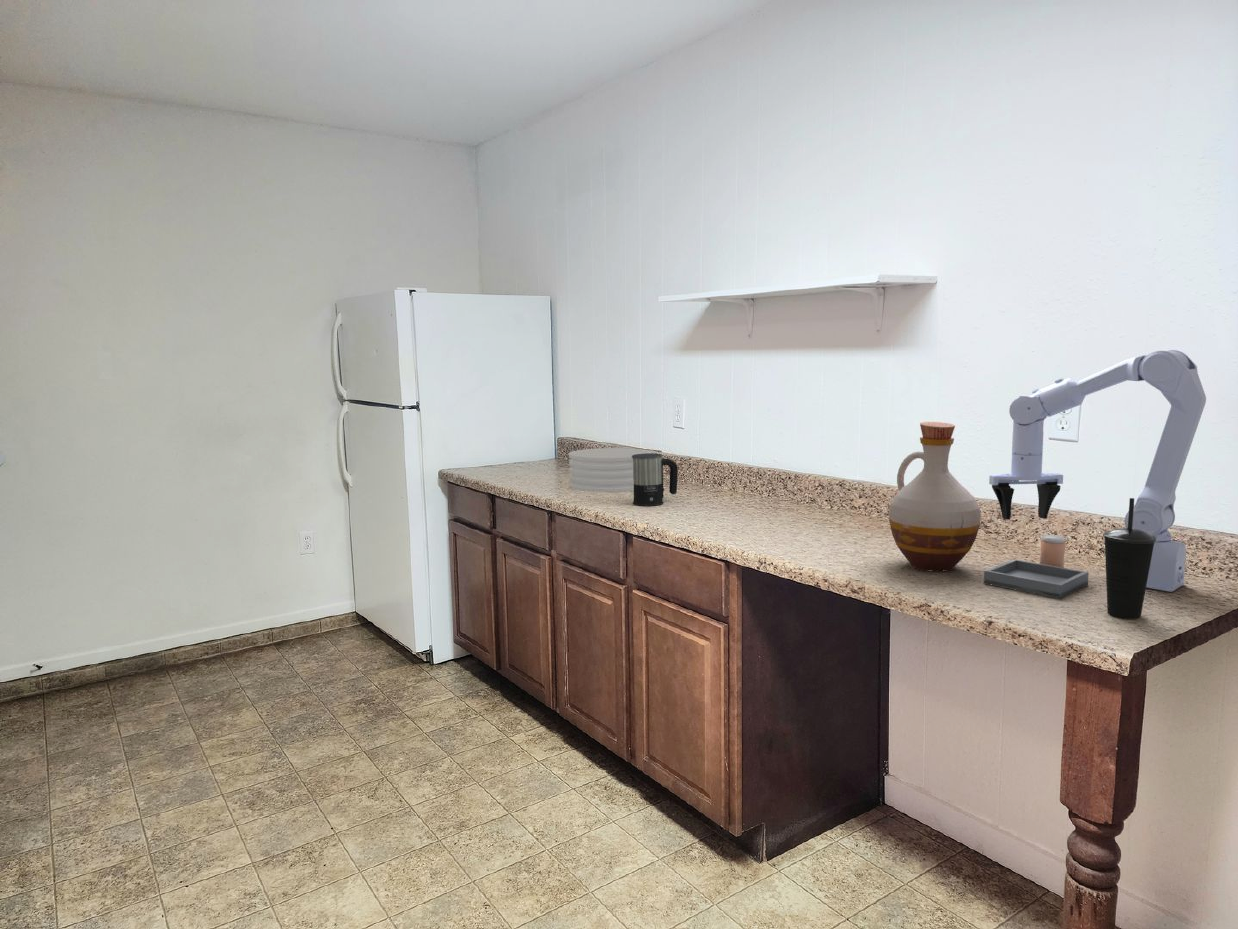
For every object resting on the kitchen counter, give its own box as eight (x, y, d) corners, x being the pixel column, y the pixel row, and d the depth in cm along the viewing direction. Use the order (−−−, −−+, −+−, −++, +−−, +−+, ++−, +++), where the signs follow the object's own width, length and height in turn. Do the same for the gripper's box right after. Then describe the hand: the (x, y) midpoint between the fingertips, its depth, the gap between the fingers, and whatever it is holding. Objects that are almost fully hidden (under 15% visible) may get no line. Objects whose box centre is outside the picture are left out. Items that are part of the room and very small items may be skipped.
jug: (863, 560, 180) (867, 421, 176) (926, 551, 187) (931, 417, 183) (931, 582, 162) (937, 428, 158) (998, 571, 169) (1005, 424, 165)
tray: (1087, 584, 159) (1088, 572, 159) (1060, 598, 151) (1060, 585, 150) (1013, 571, 169) (1014, 559, 169) (983, 583, 161) (984, 570, 161)
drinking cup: (1102, 619, 139) (1110, 501, 136) (1094, 606, 146) (1101, 493, 143) (1155, 624, 136) (1164, 503, 133) (1145, 610, 143) (1153, 495, 141)
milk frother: (642, 507, 244) (641, 457, 242) (616, 499, 258) (615, 452, 256) (682, 503, 251) (682, 454, 249) (655, 495, 265) (654, 449, 263)
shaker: (1067, 570, 169) (1069, 536, 169) (1058, 574, 167) (1060, 540, 166) (1044, 566, 173) (1046, 533, 172) (1035, 570, 170) (1037, 536, 169)
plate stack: (654, 491, 273) (654, 456, 271) (568, 493, 271) (568, 458, 270) (648, 478, 300) (647, 447, 299) (570, 480, 299) (569, 448, 298)
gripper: (1051, 450, 177) (1048, 514, 178) (983, 452, 177) (981, 515, 178) (1070, 454, 170) (1066, 520, 171) (999, 456, 170) (996, 521, 171)
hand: (1024, 518), depth 174 cm, fingers open, 7 cm apart
